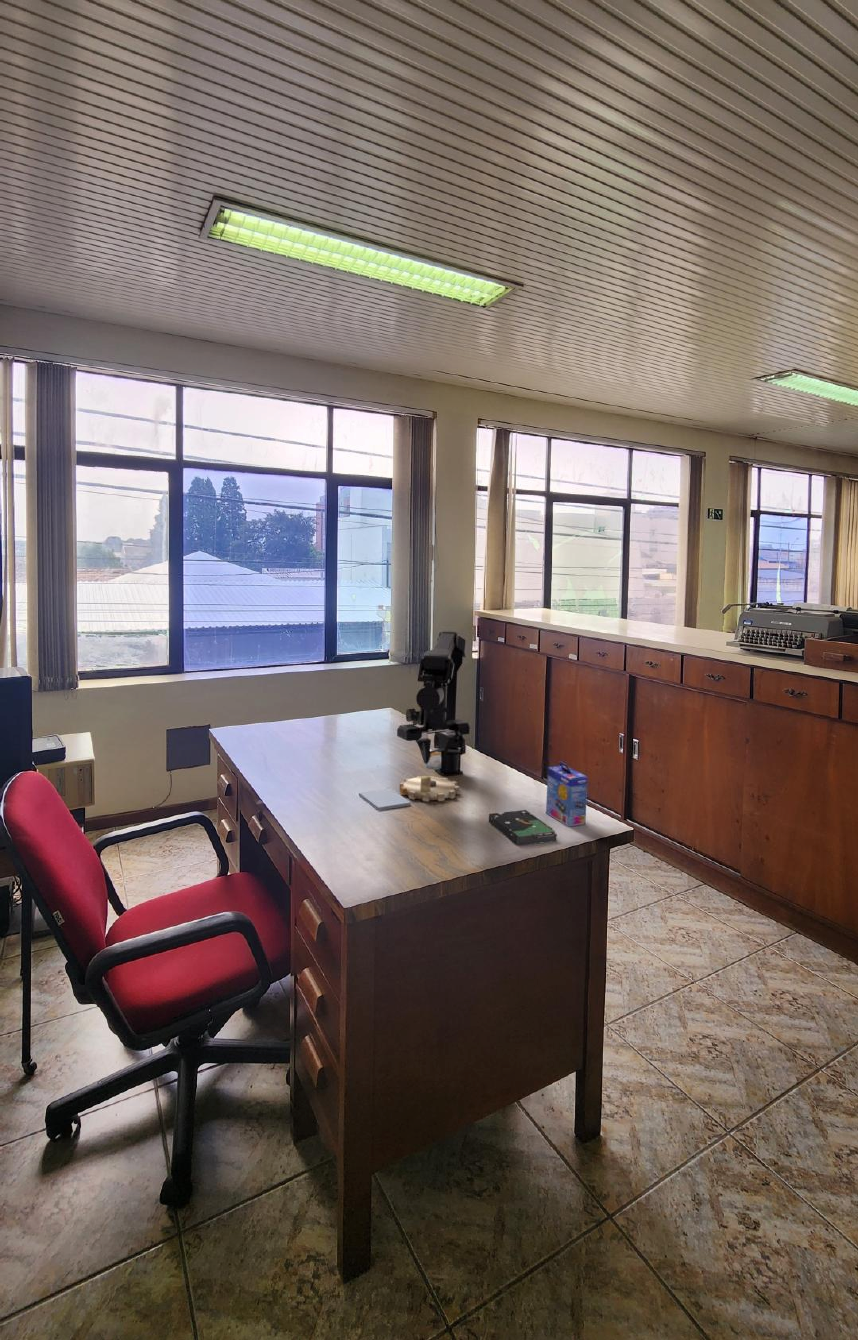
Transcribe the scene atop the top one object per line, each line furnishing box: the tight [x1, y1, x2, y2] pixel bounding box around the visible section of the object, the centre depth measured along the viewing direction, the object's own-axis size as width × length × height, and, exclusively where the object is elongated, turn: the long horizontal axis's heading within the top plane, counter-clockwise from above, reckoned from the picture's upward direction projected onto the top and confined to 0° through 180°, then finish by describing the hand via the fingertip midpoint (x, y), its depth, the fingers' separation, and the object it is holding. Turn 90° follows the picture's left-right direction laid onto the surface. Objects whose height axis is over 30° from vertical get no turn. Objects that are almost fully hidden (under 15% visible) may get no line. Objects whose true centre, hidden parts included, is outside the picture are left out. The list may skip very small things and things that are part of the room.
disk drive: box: [488, 809, 558, 847], centre depth 157 cm, size 10×3×15 cm
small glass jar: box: [424, 747, 442, 771], centre depth 172 cm, size 4×4×4 cm
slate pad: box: [358, 788, 411, 811], centre depth 175 cm, size 9×12×1 cm
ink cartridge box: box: [545, 761, 588, 827], centre depth 165 cm, size 10×6×14 cm, turn 24°
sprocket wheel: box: [399, 775, 460, 802], centre depth 182 cm, size 16×16×5 cm
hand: (433, 762), depth 172 cm, fingers closed on small glass jar, 4 cm apart
